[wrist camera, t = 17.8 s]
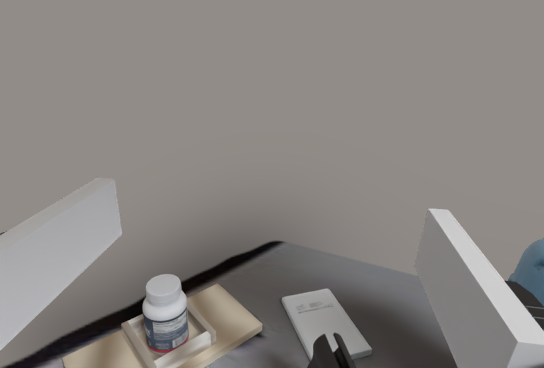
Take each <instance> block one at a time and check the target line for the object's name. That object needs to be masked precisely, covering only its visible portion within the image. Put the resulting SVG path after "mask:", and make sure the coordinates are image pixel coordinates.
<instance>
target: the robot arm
mask: <svg viewBox="0 0 544 368" xmlns="http://www.w3.org/2000/svg"><path fill="white" fill-rule="evenodd" d="M118 209H119V208H118V201H117V194H116V187H115V180H114V179H110V178H99V177H98V178H96V179H94V180H93V181H91V182H89V183H88V184H86V185H84V186H82V187H81V188H79V189H77V190H76V191H74V192H72V193H71V194H69V195H68V196H66V197H64V198H62V199H61V200H59V201H57V202H56V203H54V204H52V205H51V206H49V207H47V208H45V209H44V210H42V211H40V212H39V213H37V214H36V215H34V216H32V217H30V218H29V219H27V220H25V221H24V222H22V223H20V224H19V225H17V226H15V227H14V228H12V229H10V230H9V231H6V232H3V233H1V234H0V350H1V349H3V348H4V347H5V345H7V344H8V343H9V342H10V341H11V340H12V339H13V338H14V337H15V336H16V335H17V334H18V333H19V332H20V331H21V330H22V329H23V328H24V327H26V326H27V325H28V324H29V323H30V322H31V321H32V320H33V319H34V318H35V317H36V316H37V315H38V314H39V313H40V312H41V311H42V310H43V309H44V308H45V307H46V306H48V304H50V303H51V302H52V301H53V300H54V299H55V298H56V297H57V296H58V295H59V294H60V293H61V292H62V291H63V290H64V289H65V288H66V287H67V286H68V285H69V284H71V283H72V282H73V281H74V280H75V279H76V278H77V277H78V276H79V275H80V274H81V273H82V272H83V271H84V270H85V269H86V268H87V267H88V266H89V265H90V264H91V263H92V262H93V261H94V260H96V259H97V258H98V257H99V256H100V255H101V254H102V253H103V252H104V251H105V250H106V249H107V248H108V247H109V246H110V245H111V244H112V243H113V242H114V241H115V240H116V239H117V238H119V237H120V236H121V235H122V230H121V223H120V215H119V210H118ZM414 267H415V269H416V272H417V274H418V276H419V279H420V281H421V283H422V286H423V288H424V290H425V293H426V295H427V297H428V300H429V302H430V304H431V307H432V309H433V311H434V314H435V316H436V318H437V321H438V323H439V325H440V328H441V330H442V332H443V335H444V337H445V339H446V341H447V344H448V346H449V348H450V351H451V353H452V355H453V358H454V360H455V362H456V365H457V367H458V368H544V238H543V239H540V240H538V241H536V242H534V243H532V244H531V245H530V246H529V247H528V248H527V249H526V250H525V251H524V253H523V255H522V257H521V259H520V261H519V263H518V265H517V267H516V269H515V271H514V273H513V274H512V275H511V276H510V277H509V279H508V281H504V280H503V279H502V277H501V276H500V275H499V274H498V272H497V271H496V270H495V269H494V267H493V266H492V265H491V264H490V262H489V261H488V260H487V258H486V257H485V256H484V255H483V253H482V252H481V251H480V249H479V248H478V247H477V246H476V244H475V243H474V242H473V241H472V239H471V238H470V237H469V236H468V234H467V233H466V232H465V230H464V229H463V228H462V227H461V225H460V224H459V223H458V222H457V220H456V219H455V218H454V216H453V215H452V214H451V213H450V211H449V210H442V209H432V208H428V211H427V215H426V219H425V224H424V228H423V232H422V236H421V240H420V244H419V248H418V252H417V257H416V260H415V265H414Z"/></svg>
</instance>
